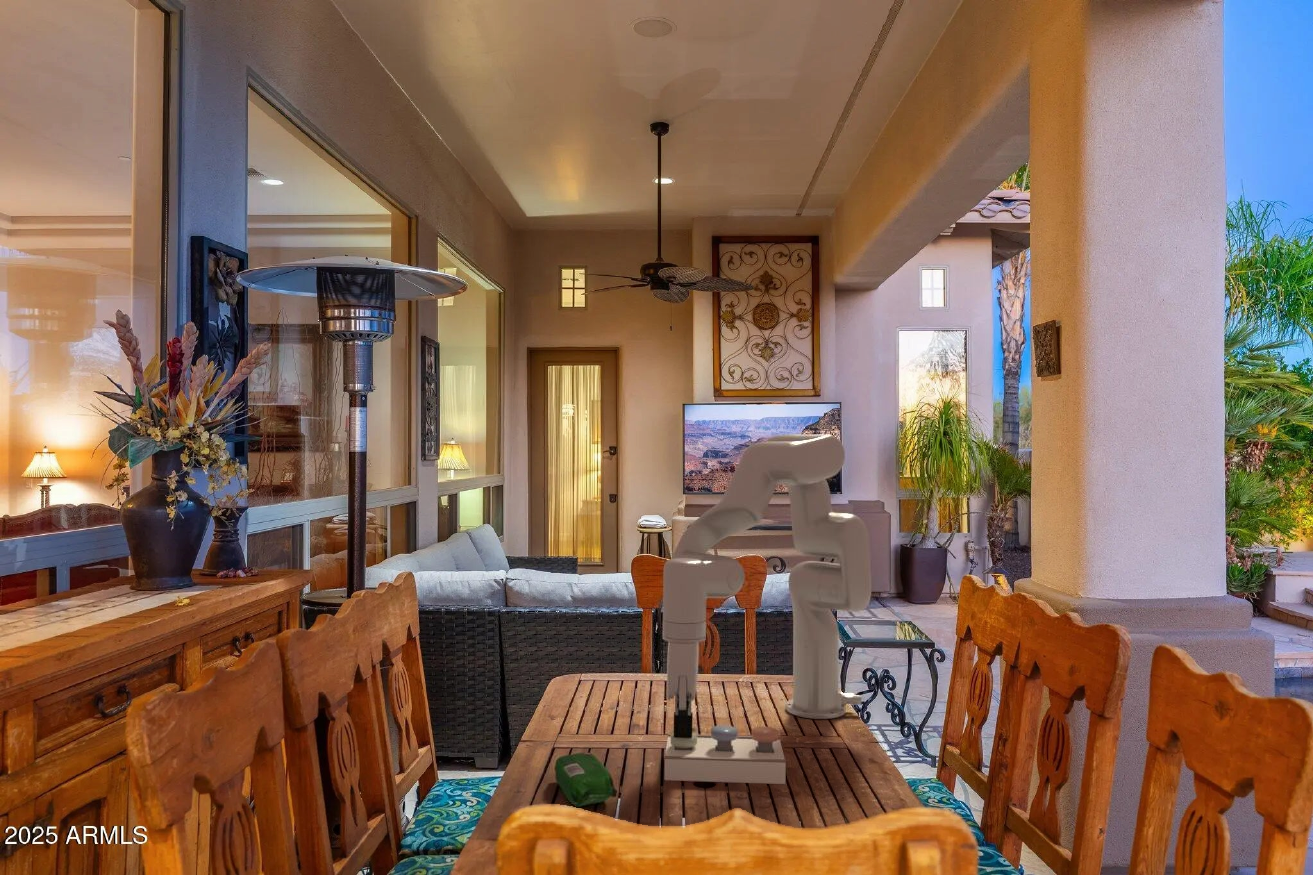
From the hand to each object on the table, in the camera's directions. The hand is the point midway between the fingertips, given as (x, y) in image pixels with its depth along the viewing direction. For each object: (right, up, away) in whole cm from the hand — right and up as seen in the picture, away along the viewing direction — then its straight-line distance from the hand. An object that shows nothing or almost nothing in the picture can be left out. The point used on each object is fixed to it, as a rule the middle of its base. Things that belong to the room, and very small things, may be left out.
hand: (683, 736), depth 147 cm
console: (+7, -5, 0) cm, 9 cm away
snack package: (-16, -5, -12) cm, 21 cm away
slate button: (+7, -2, 0) cm, 7 cm away
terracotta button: (+14, -2, -1) cm, 14 cm away
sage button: (0, -3, 0) cm, 3 cm away
